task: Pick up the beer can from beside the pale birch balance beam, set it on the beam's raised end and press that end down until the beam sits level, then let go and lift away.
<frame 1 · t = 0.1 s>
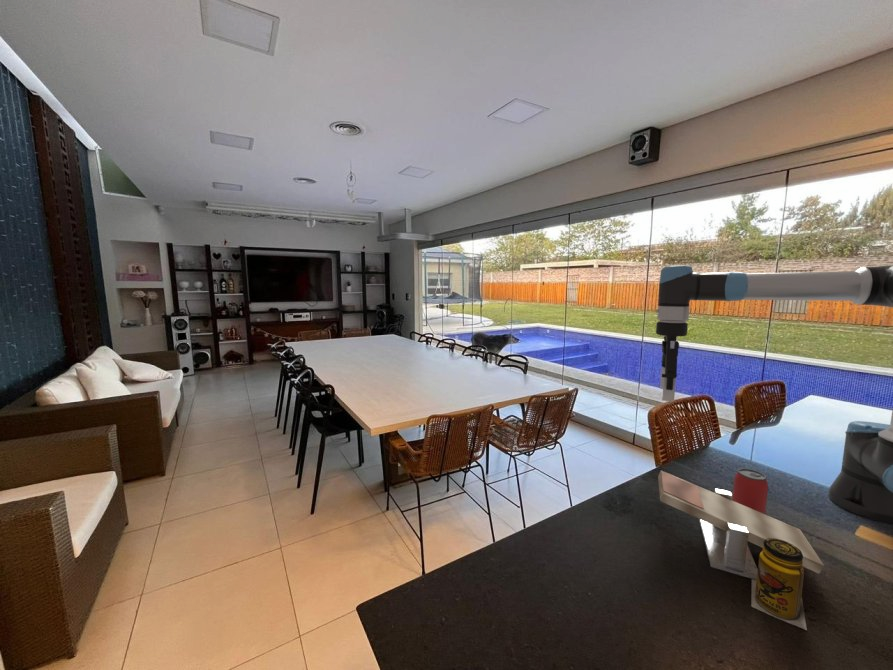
hand: (666, 394, 105), 28 cm above the table, fingers open, 13 cm apart
pivot stand: (726, 547, 82), on the table
balance beam: (729, 514, 81), point 8 cm above the table, hinge at -15.0°
beer can: (747, 518, 93), on the table
condiment: (776, 604, 67), on the table
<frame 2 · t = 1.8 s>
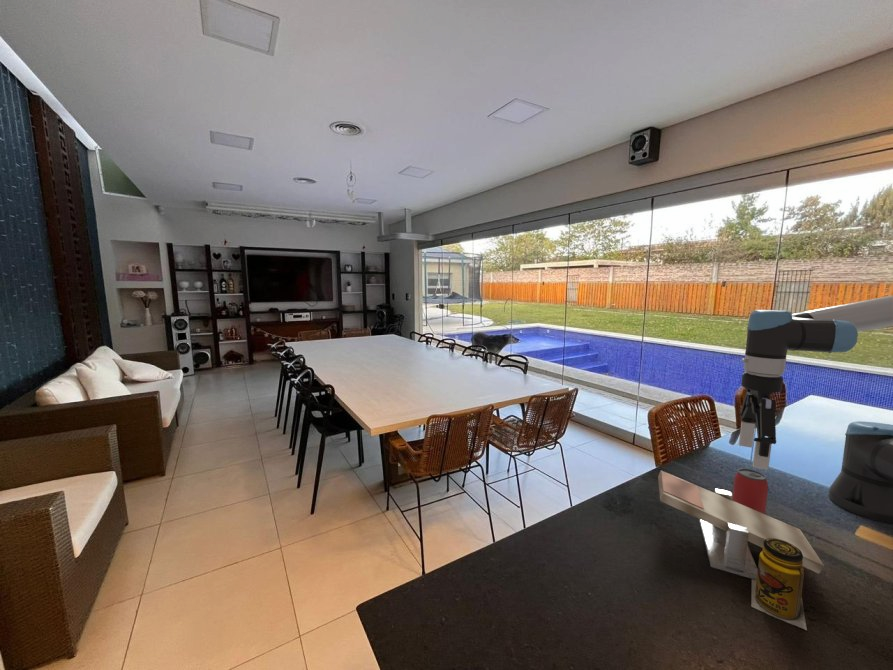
hand: (752, 456, 91), 17 cm above the table, fingers open, 13 cm apart
nothing on the table moved.
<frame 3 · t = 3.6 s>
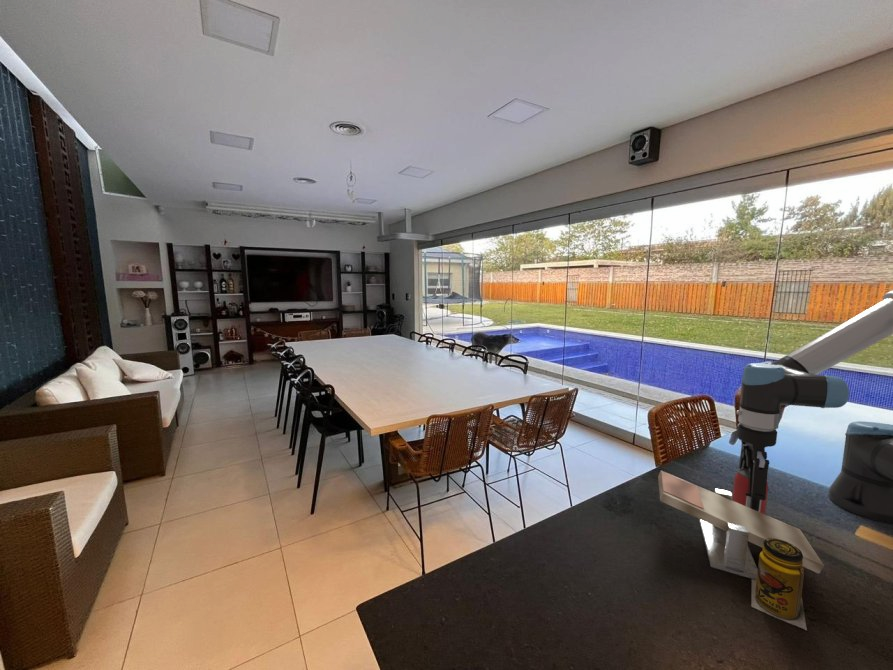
hand: (747, 512, 92), 1 cm above the table, fingers closed on beer can, 7 cm apart
beer can: (747, 518, 93), on the table, touching gripper
everything else where it was.
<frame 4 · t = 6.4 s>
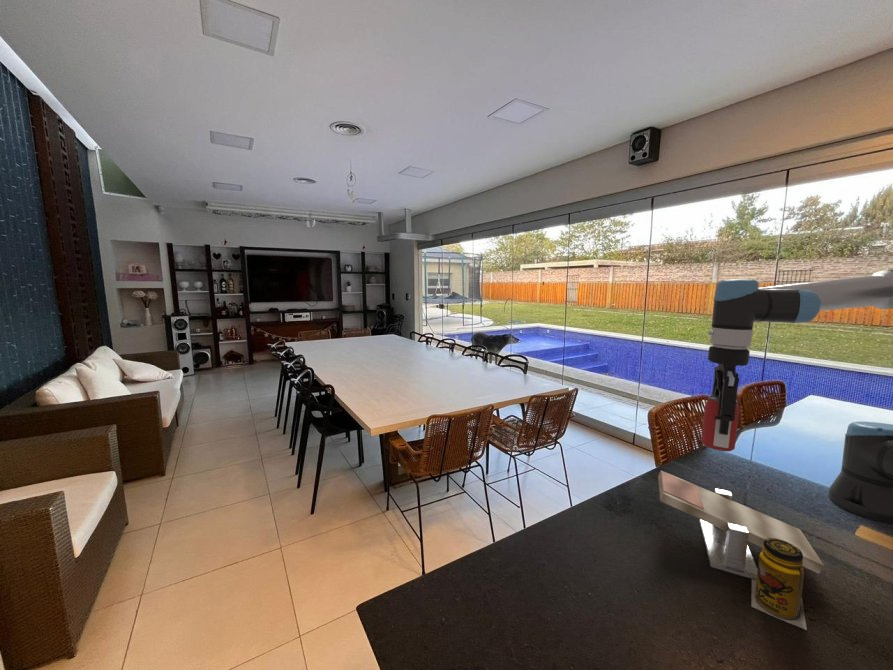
hand: (718, 440, 87), 22 cm above the table, fingers closed on beer can, 7 cm apart
beer can: (717, 447, 87), point 20 cm above the table, touching gripper
everything else where it was.
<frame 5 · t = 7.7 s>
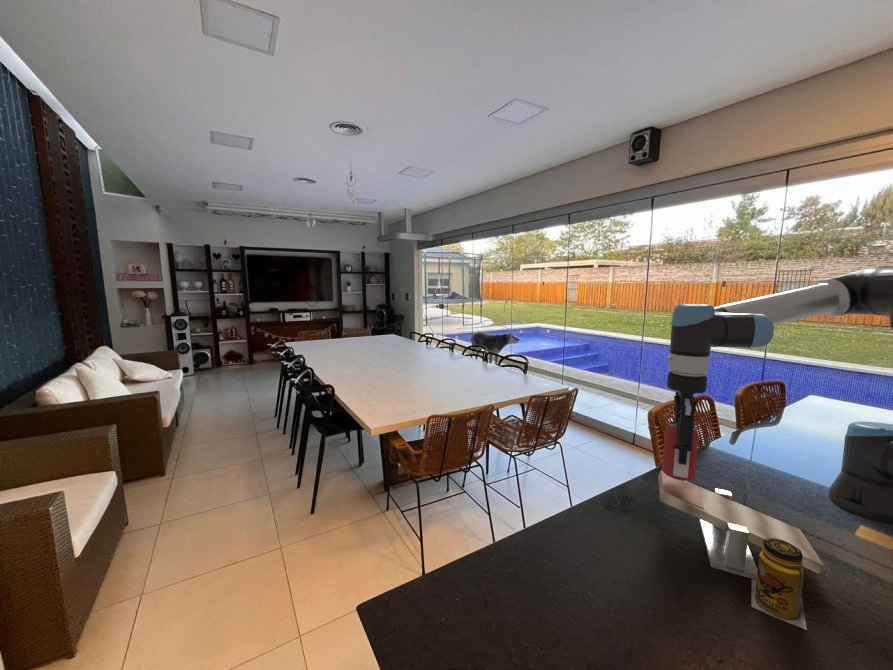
hand: (678, 468, 85), 16 cm above the table, fingers closed on beer can, 7 cm apart
beer can: (677, 475, 85), point 15 cm above the table, touching gripper
everything else where it was.
when the fingers open (11 cm above the table, at t = 9.1 s): beer can stays where it is, resting on balance beam.
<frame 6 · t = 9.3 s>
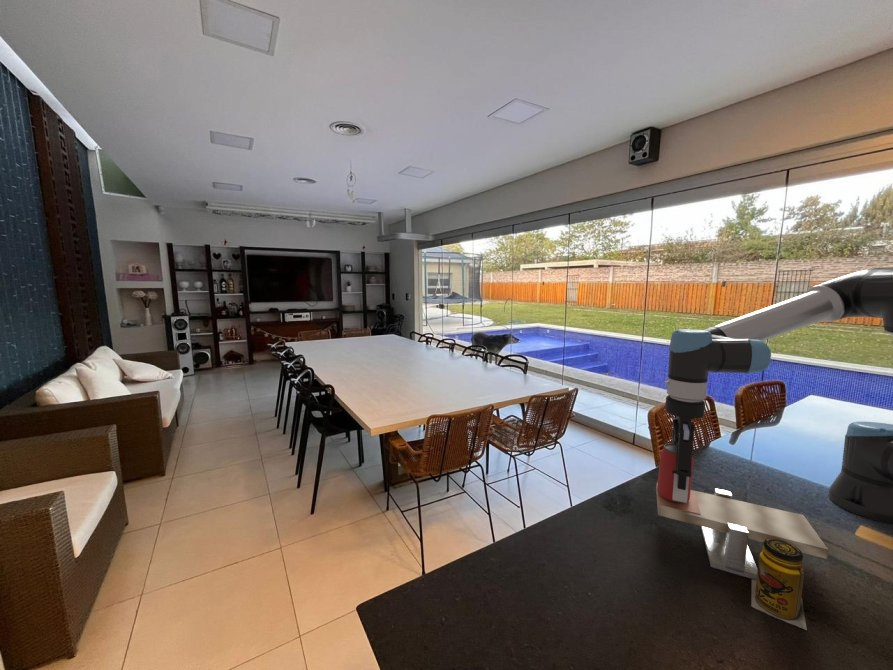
hand: (677, 490, 85), 11 cm above the table, fingers open, 9 cm apart
balance beam: (729, 514, 81), point 8 cm above the table, hinge at -0.7°, touching beer can
beer can: (672, 497, 86), point 9 cm above the table, touching balance beam
everything else where it was.
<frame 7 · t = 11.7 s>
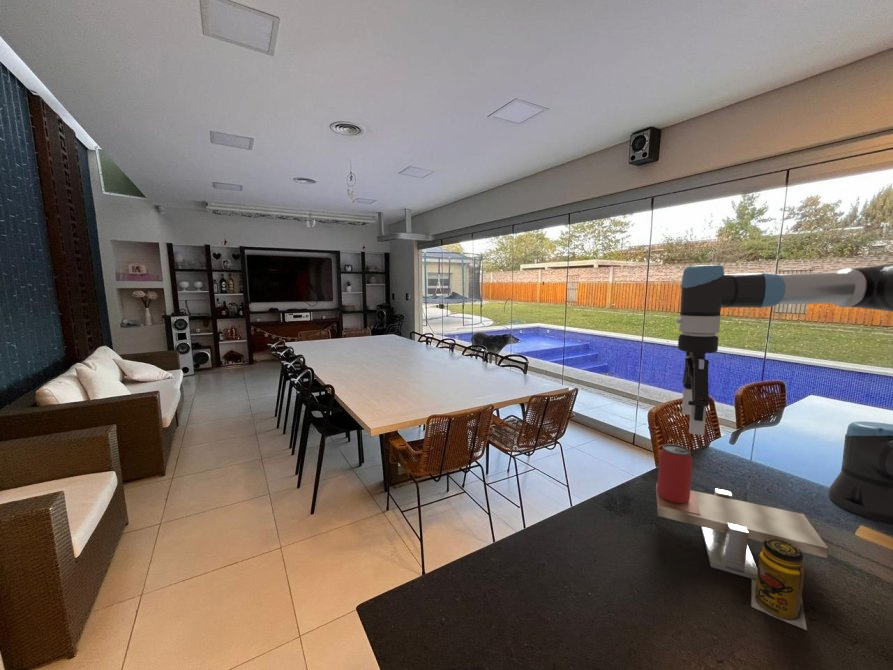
hand: (692, 423, 85), 27 cm above the table, fingers open, 13 cm apart
balance beam: (729, 514, 81), point 8 cm above the table, hinge at 0.1°, touching beer can
everything else where it was.
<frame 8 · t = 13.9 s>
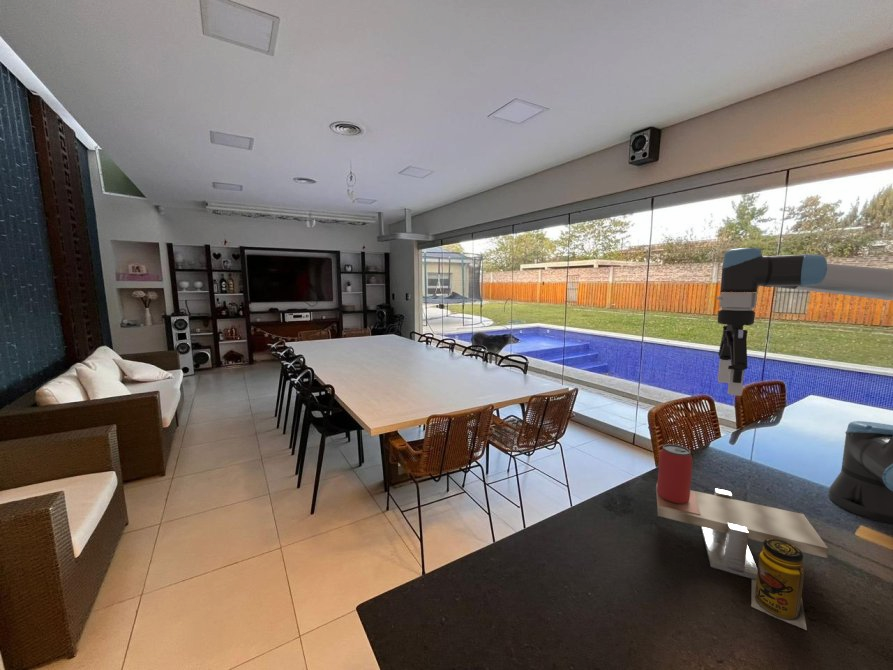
hand: (728, 388, 97), 32 cm above the table, fingers open, 13 cm apart
nothing on the table moved.
at the end: balance beam at +0° (first picture: -15°); beer can inside the target area on the balance beam (0.9 cm from its centre), point 1.0 cm above the balance beam's base; beer can tilted 0° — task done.
